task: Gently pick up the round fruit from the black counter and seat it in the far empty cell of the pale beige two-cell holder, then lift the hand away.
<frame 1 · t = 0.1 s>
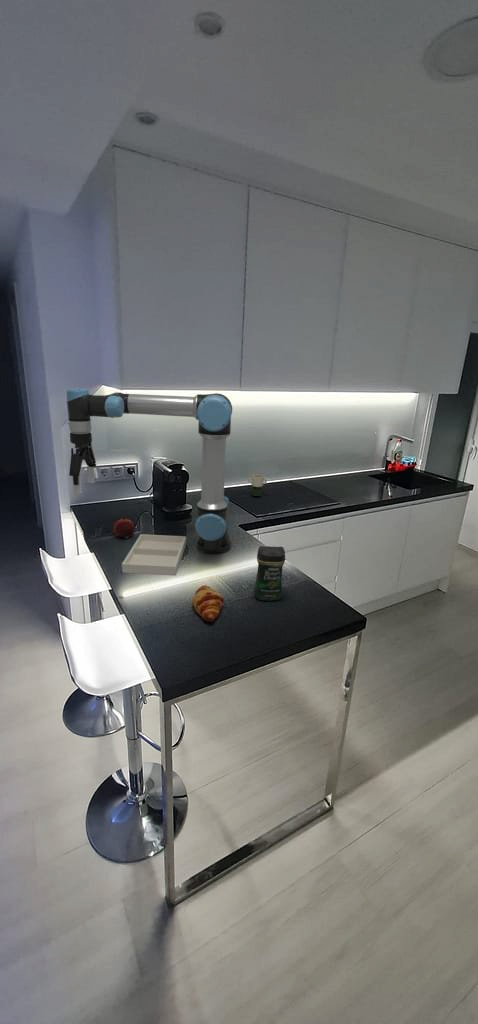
hand: (84, 487, 163), 28 cm above the countertop, tool pointing down, fingers open, 13 cm apart
fruit holder: (156, 557, 173), on the countertop
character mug: (256, 496, 257), on the countertop
fruit: (124, 536, 191), on the countertop
coffee jar: (267, 596, 148), on the countertop
croissant: (208, 608, 140), on the countertop
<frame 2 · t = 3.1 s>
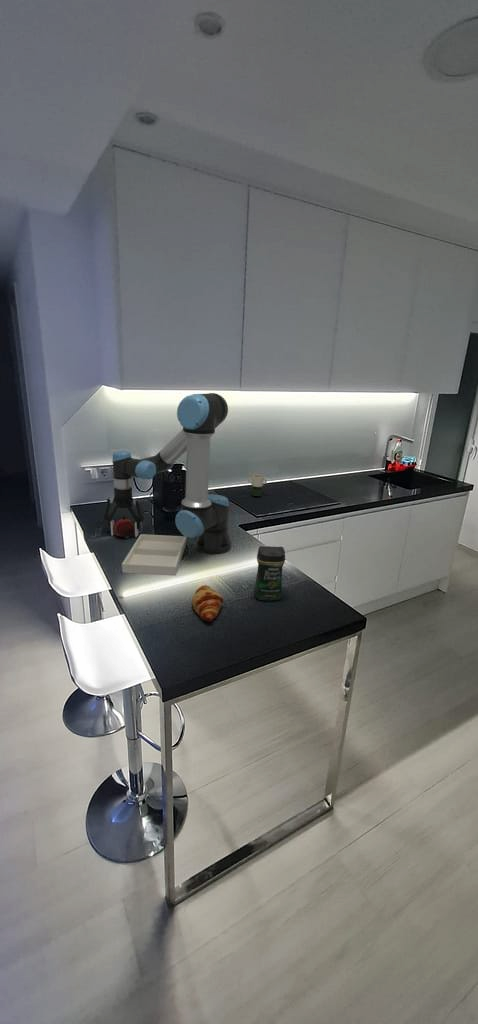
hand: (124, 534, 190), 1 cm above the countertop, tool pointing down, fingers open, 10 cm apart
fruit: (124, 536, 191), on the countertop, touching gripper
everything else where it was.
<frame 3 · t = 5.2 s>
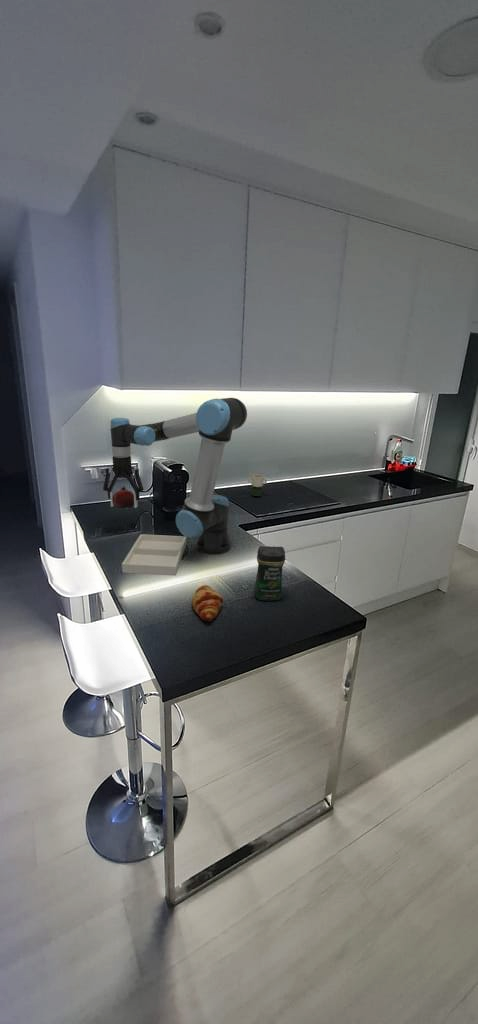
hand: (124, 506, 186), 14 cm above the countertop, tool pointing down, fingers closed on fruit, 9 cm apart
fruit: (124, 508, 186), point 13 cm above the countertop, touching gripper
everything else where it was.
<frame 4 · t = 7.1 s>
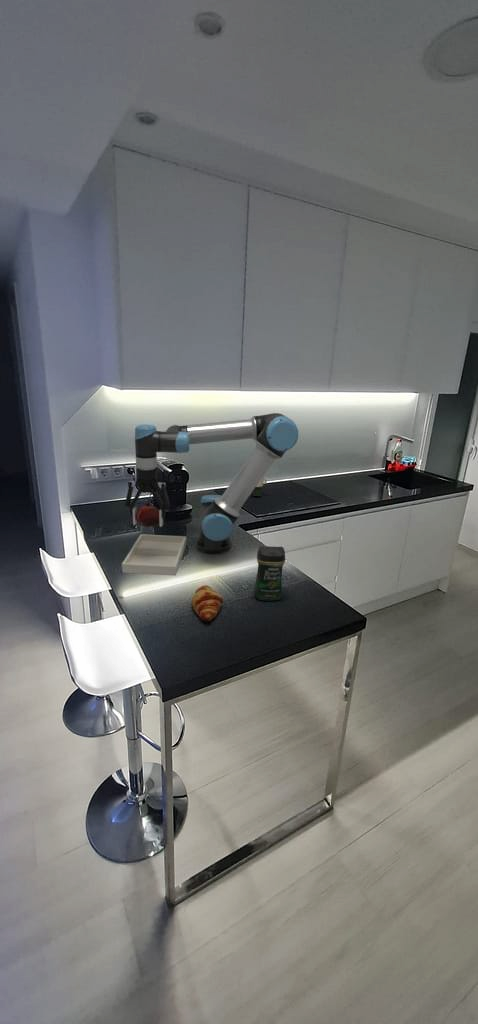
hand: (148, 524, 164), 16 cm above the countertop, tool pointing down, fingers closed on fruit, 9 cm apart
fruit: (148, 526, 165), point 15 cm above the countertop, touching gripper
everything else where it was.
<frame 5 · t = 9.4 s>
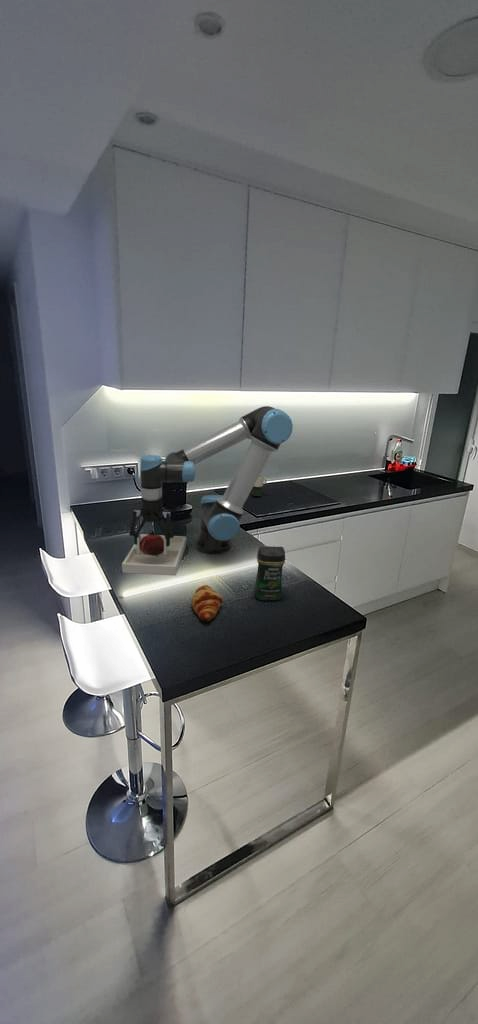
hand: (152, 552, 164), 5 cm above the countertop, tool pointing down, fingers closed on fruit, 9 cm apart
fruit: (152, 554, 165), point 4 cm above the countertop, touching gripper
everything else where it was.
when the fingers open (3 cm above the countertop, at t = 10.8 s): fruit drops 1 cm, resting on fruit holder.
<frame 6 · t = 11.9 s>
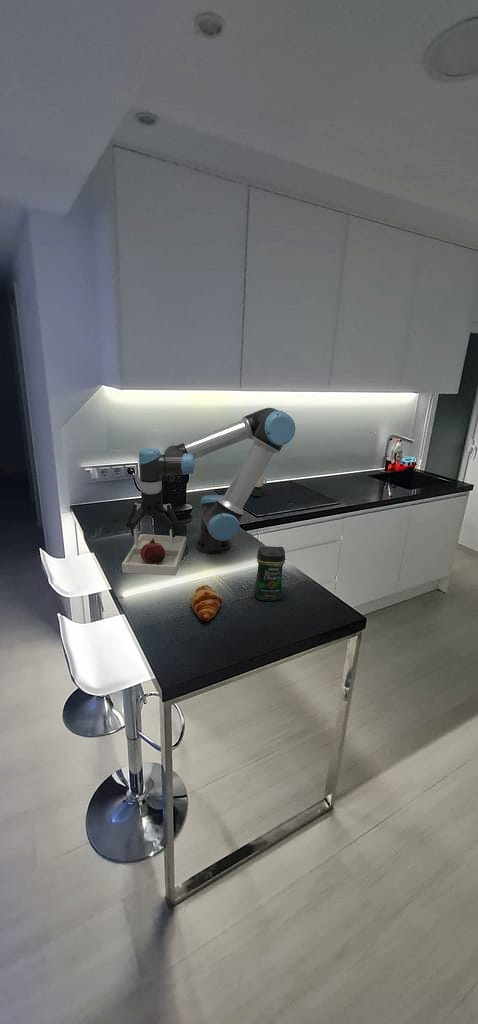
hand: (154, 544, 163), 9 cm above the countertop, tool pointing down, fingers open, 13 cm apart
fruit: (153, 562, 166), point 1 cm above the countertop, touching fruit holder
everything else where it was.
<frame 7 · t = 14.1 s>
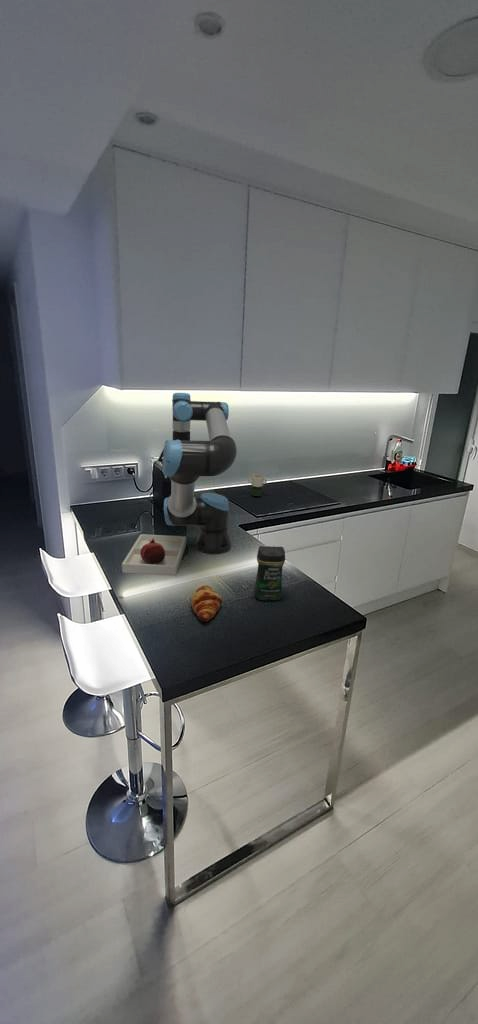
hand: (181, 478, 190), 26 cm above the countertop, tool pointing down, fingers open, 13 cm apart
nothing on the countertop moved.
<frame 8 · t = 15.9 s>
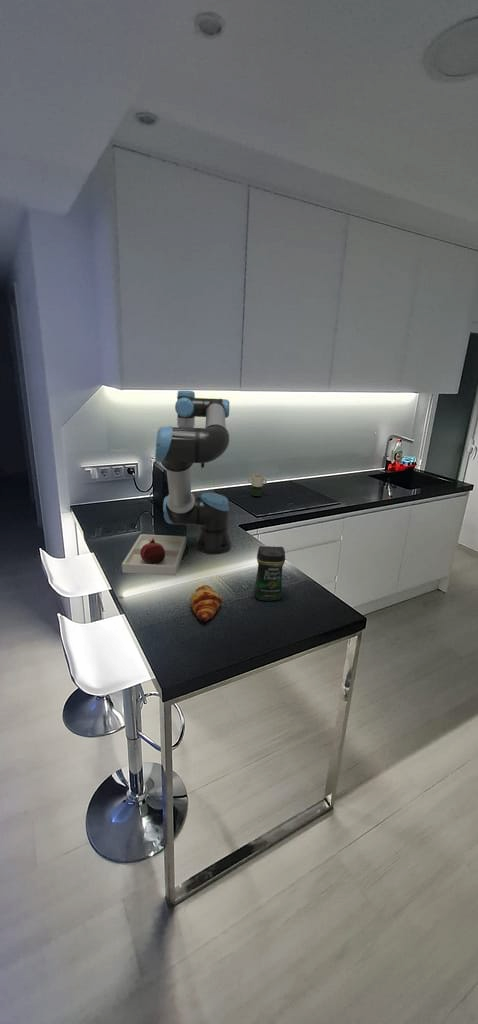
hand: (185, 473, 195), 27 cm above the countertop, tool pointing down, fingers open, 13 cm apart
nothing on the countertop moved.
at the end: fruit inside the target area on the fruit holder (0.2 cm from its centre), point 0.8 cm above the fruit holder's base; the gripper is holding nothing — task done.
